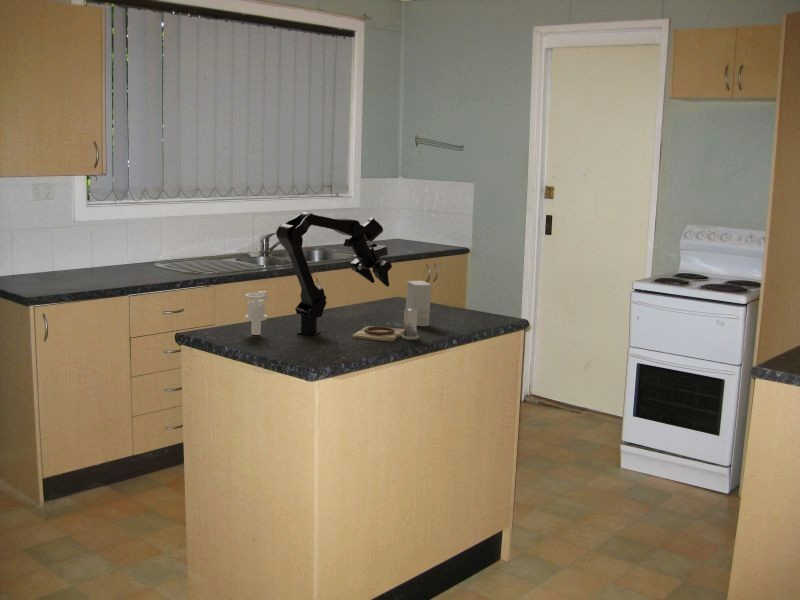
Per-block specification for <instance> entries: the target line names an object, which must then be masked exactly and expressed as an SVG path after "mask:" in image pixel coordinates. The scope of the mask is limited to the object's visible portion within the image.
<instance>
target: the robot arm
mask: <svg viewBox="0 0 800 600" xmlns="http://www.w3.org/2000/svg"><path fill="white" fill-rule="evenodd" d="M311 226H314V227H320V228H325V229H329V230H332V231H335V232H336V233H338V234H341V235H343V236H349V238H344V242H343V247H347V248H351V250H352V252H353V254H354V255H353V257H354V259H353V260H352V261H351V262H350V265H349V267H350V269H351V270H352V271H354V272H355V273H357V274H358V275H360V276H361V277H363V278H364V279H366V280H367V281H368V282H369V283H371V284H374V283H375V282H376V281H375V279H374V277H375V278H376V279H377V280H378V281H379V282H381V283H382V284H383V285H384V286H385V287H386V288H387V287H389V286H390V281H389V271H390V270H391V269H392V268H393V265H392V263H391V261H387V260H383V259H382V260H381V257H384V256H385V257H386V256H388V255H389V252H388V247H387V245H383V244H376V242H375V243H374V242H373V241H374V240H375V239H377V238H378V236H380V235H381V234H382V233H383V232H384V228H383V226H382V225H381V224H380V223H379V222H378V221H376V219H375V218H374V217H369V218H368V219H367V221H365V223H363V224H361V223H360V221H359V220H356V219H352V218H331V217H326V216H323V215H318V214H314V213H312V212H305V211H303V212H301V213H299V214H298V215H297V216H295V217H293V218H291V219H289V220H288V221H286V222H285V223H283V224H280V225H278V227H277V230H276V231H275V234H276V237H277V239H278V241H279V243H280V245H281V246H282V247H283V248H284V250H286V252H287V253H288V256H289V258H290V262H291V264H292V266H293V270H294V272H295V275H296V277H297V281H298V283H299V285H300V289H301V291H300V301H299V303H298V305H297V306H296V307H295V309H294V310H295V313H296V315H299V316H300V330H299V331H297V332H296V335H304V334H305V336H316V335H317V334H319V333H321V332H322V330H320V329H319V330H318V318H321V317H323V313H324V311H325V308H326V305H327V300H326V299H328V298H327V296H326V295H325V290H324V288H323V287H320V286H317V285H316V284H315V281H314V279H313V275H312V273H311V270H310V267H309V264H308V262H307V259H306V256H305V253H304V251H303V248H302V247H303V243H304V242H303V241H304V239H303V236H304V235H305V234H307V232H308V230H309V228H310V227H311ZM368 242H370V243H369V244H368ZM371 242H372V243H371ZM378 261H379V262H378ZM371 269H372V270H371ZM373 274H374V276H373Z"/></svg>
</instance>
